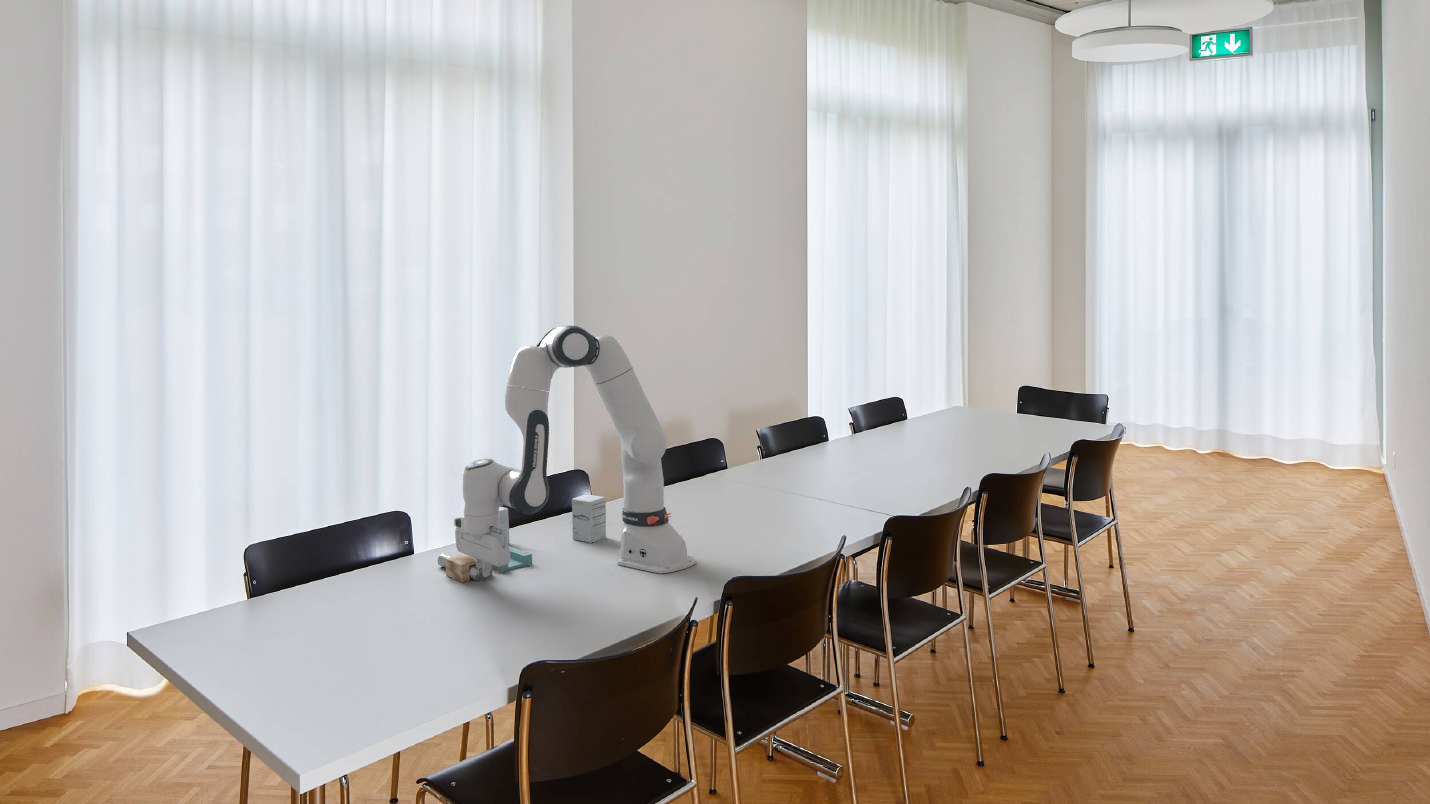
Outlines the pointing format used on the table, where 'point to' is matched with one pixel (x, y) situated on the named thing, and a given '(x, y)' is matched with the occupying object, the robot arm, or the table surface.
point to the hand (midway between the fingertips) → (483, 575)
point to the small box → (504, 521)
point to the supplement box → (589, 518)
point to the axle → (472, 568)
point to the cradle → (515, 560)
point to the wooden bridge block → (460, 567)
